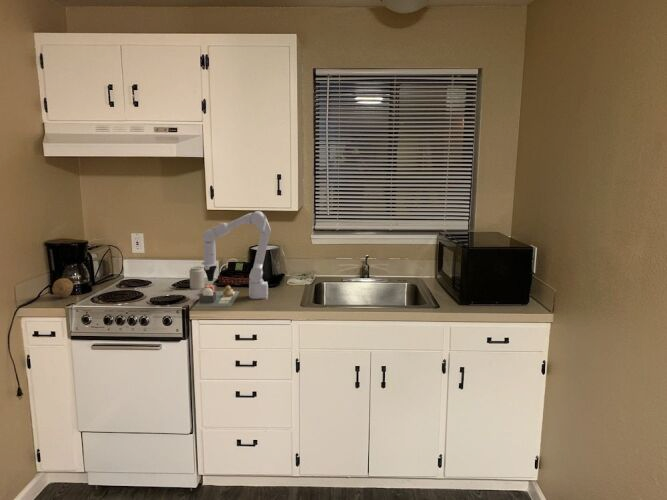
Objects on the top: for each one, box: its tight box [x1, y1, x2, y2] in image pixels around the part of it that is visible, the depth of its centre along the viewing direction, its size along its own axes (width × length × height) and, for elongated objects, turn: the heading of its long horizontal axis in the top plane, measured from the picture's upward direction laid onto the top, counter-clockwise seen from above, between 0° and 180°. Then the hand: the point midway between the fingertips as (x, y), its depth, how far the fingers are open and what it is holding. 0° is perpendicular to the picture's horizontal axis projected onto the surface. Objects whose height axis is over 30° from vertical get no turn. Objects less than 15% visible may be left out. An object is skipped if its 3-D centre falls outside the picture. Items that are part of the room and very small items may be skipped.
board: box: [194, 290, 240, 307], centre depth 233 cm, size 17×26×4 cm, turn 2°
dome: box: [202, 287, 213, 296], centre depth 227 cm, size 5×5×5 cm
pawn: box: [222, 285, 234, 297], centre depth 237 cm, size 5×5×5 cm
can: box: [188, 266, 205, 290], centre depth 252 cm, size 8×8×12 cm
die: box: [204, 284, 215, 292], centre depth 240 cm, size 4×4×4 cm
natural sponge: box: [51, 277, 74, 299], centre depth 231 cm, size 9×9×10 cm
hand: (210, 280), depth 233 cm, fingers closed
